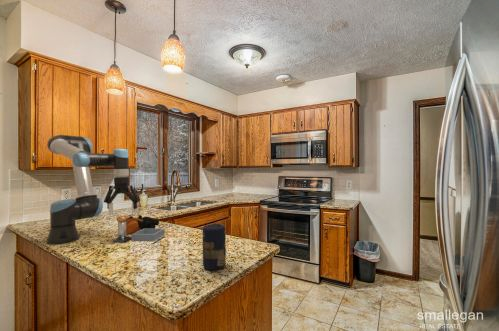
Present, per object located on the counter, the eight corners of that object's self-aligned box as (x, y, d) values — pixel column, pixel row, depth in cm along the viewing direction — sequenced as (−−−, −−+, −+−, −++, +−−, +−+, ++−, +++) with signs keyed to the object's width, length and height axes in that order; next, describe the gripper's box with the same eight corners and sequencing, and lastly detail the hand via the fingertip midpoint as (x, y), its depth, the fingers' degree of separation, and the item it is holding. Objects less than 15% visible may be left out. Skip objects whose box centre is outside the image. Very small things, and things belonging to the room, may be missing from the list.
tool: (154, 243, 160) (162, 220, 165) (121, 237, 144) (130, 211, 148) (147, 240, 165) (155, 218, 170) (114, 235, 149) (124, 210, 153)
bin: (131, 243, 137) (131, 234, 137) (144, 236, 149) (143, 228, 149) (153, 243, 135) (153, 234, 135) (164, 237, 148) (164, 228, 148)
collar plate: (108, 245, 134) (107, 240, 134) (119, 239, 144) (119, 235, 144) (125, 245, 133) (125, 241, 133) (135, 240, 143) (135, 235, 143)
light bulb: (114, 241, 136) (114, 217, 136) (120, 238, 141) (120, 215, 141) (123, 241, 135) (123, 217, 135) (129, 238, 141) (129, 215, 141)
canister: (204, 263, 107) (203, 221, 107) (226, 261, 108) (225, 220, 108) (201, 272, 98) (200, 226, 98) (225, 271, 98) (225, 225, 98)
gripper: (95, 177, 136) (96, 216, 136) (138, 176, 133) (139, 216, 133) (105, 177, 143) (106, 213, 143) (146, 176, 141) (147, 213, 140)
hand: (122, 215), depth 138 cm, fingers open, 13 cm apart
